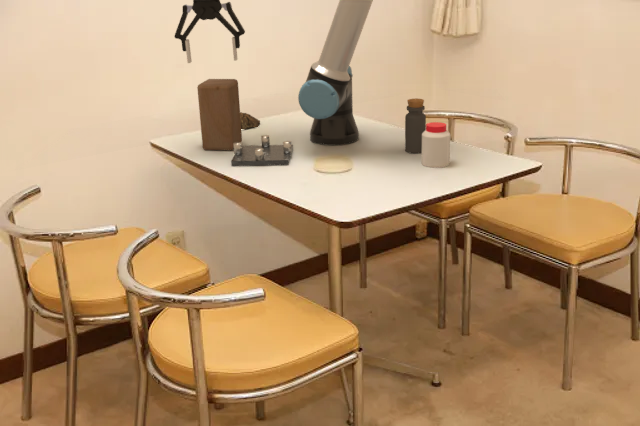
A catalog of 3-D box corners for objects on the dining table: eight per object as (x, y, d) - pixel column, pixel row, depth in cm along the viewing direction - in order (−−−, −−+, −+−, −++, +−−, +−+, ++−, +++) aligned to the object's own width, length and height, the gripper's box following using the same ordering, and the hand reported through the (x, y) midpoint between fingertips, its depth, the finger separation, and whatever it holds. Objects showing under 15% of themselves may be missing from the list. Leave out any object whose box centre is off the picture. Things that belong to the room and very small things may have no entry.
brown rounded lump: (215, 127, 264) (214, 112, 262) (244, 120, 272) (243, 106, 270) (238, 133, 255) (237, 118, 253) (268, 125, 263) (267, 111, 261)
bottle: (429, 150, 227) (430, 99, 222) (417, 154, 223) (417, 103, 218) (413, 147, 231) (413, 97, 226) (401, 151, 227) (401, 100, 222)
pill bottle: (432, 169, 210) (432, 129, 206) (415, 162, 216) (416, 123, 213) (455, 164, 213) (456, 125, 209) (438, 158, 220) (439, 119, 216)
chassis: (294, 149, 233) (293, 134, 232) (289, 165, 218) (288, 150, 216) (238, 150, 234) (237, 135, 233) (229, 166, 219) (228, 151, 217)
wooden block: (233, 151, 233) (228, 84, 226) (201, 150, 235) (195, 84, 228) (243, 142, 243) (238, 78, 236) (212, 141, 245) (207, 78, 238)
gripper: (249, -18, 225) (256, 56, 232) (163, -13, 226) (172, 61, 233) (247, -16, 218) (254, 60, 225) (158, -11, 219) (168, 65, 226)
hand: (212, 61), depth 229 cm, fingers open, 13 cm apart
